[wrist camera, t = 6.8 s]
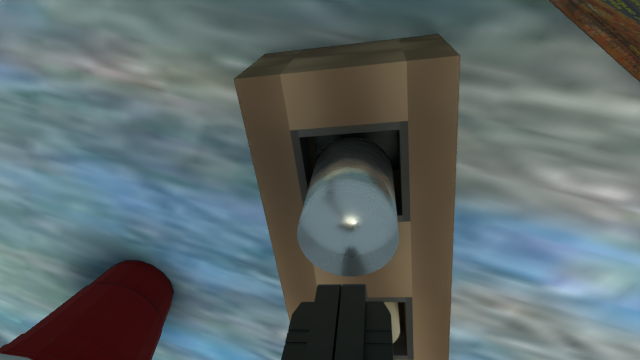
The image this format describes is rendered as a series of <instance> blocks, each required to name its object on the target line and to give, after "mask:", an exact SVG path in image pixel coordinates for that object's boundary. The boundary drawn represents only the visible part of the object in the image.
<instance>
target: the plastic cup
mask: <svg viewBox="0 0 640 360" xmlns="http://www.w3.org/2000/svg"><path fill="white" fill-rule="evenodd" d="M172 296H173V289H172V286H171V283H170V281H169V280H168V279H167V278H166V276H165V275H164V274H163V273H162V272H161V271H159V270H158V269H156V268H155V267H153V266H152V265H149V264H146V263H143V262H140V261H124V262H121V263H119V264H116V265H115V266H114V267H111V268H110V269H108V270H107V271H106V272H105V273H103V274H102V275H101V276H100V277H99V278H97V279H96V280H95V281H94V282H92V283H91V284H90V285H89V286H86V287H84V288H83V289H82V290H80V291H79V292H78V293H76V294H75V295H74V296H72V297H71V298H70V299H69V300H67V301H66V302H65V303H63V304H62V305H61V306H60V307H58V308H57V309H56V310H54V311H53V312H52V313H51V314H49V315H48V316H47V317H45V318H44V319H43V320H41V321H40V322H39V323H38V324H36V325H35V326H34V327H32V328H31V329H30V330H29V331H27V332H26V333H24V334H21V335H20V336H18V337H17V338H16V339H14V340H13V341H12V342H10V343H9V344H6V345H4V346H2V347H1V348H0V360H151V359H152V357H153V354H154V352H155V349H156V346H157V344H158V341H159V339H160V336H161V332H162V328H163V325H164V322H165V319H166V317H167V314H168V312H169V309H170V306H171V301H172Z"/></svg>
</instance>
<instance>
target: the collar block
mask: <svg viewBox="0 0 640 360" xmlns="http://www.w3.org/2000/svg"><path fill="white" fill-rule="evenodd" d="M459 75H460V55H459V54H458V53H457V52H456V51H455V50H454V49H453V48H452V47H451V46H450V45H449V44H448V43H447V42H446V41H445V40H444V39H443V38H442V37H441V36H440V35H439V34H436V35H427V36H418V37H409V38H401V39H392V40H383V41H375V42H366V43H357V44H348V45H340V46H331V47H322V48H314V49H305V50H296V51H287V52H279V53H270V54H264V55H263V56H262V57H261V58H260V59H258V60H257V61H256V62H255V63H253V64H252V65H251V66H250V67H248V68H247V69H246V70H245V71H243V72H242V73H241V74H240V75H238V76H237V77H236V78H235V79H234V82H235V87H236V91H237V95H238V99H239V104H240V108H241V112H242V117H243V121H244V125H245V130H246V134H247V138H248V143H249V147H250V151H251V156H252V160H253V164H254V169H255V173H256V177H257V182H258V186H259V190H260V195H261V199H262V203H263V208H264V212H265V216H266V221H267V225H268V229H269V234H270V238H271V242H272V247H273V251H274V255H275V260H276V264H277V268H278V273H279V277H280V281H281V286H282V290H283V294H284V299H285V303H286V307H287V312H288V316H289V320H290V321H291V317H292V314H293V313H294V311H295V310H296V309H297V307H298V306H299V304H300V303H301V302H314V301H315V295H316V290H317V286H318V284H341V285H343V284H366V288H367V298H368V301H384V302H398V310H399V323H400V334H399V337H398V338H397V340H396V341H395V342H394V343H393V354H394V360H449V335H450V309H451V283H452V257H453V231H454V205H455V179H456V153H457V127H458V101H459ZM388 130H398V154H399V170H393V171H392V172H393V181H394V191H395V201H396V211H397V220H398V230H399V243H398V248H397V250H396V252H395V254H394V256H393V257H392V259H391V260H390V261H389V262H388V263H387V264H386V265H385V266H383V267H382V268H381V269H379V270H377V271H375V272H372V273H370V274H366V275H362V276H353V277H349V276H339V275H335V274H331V273H329V272H326V271H324V270H322V269H320V268H318V267H317V266H315V265H314V264H313V263H312V262H311V261H310V260H308V258H307V257H306V256H305V255H304V253H303V252H302V250H301V248H300V246H299V242H298V238H297V228H298V224H299V220H300V217H301V213H302V210H303V206H304V203H305V199H306V196H307V192H308V189H309V185H310V182H311V178H312V175H313V171H314V168H315V164H316V161H317V156H316V149H315V142H314V136H324V135H337V134H350V133H363V132H375V131H388Z"/></svg>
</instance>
